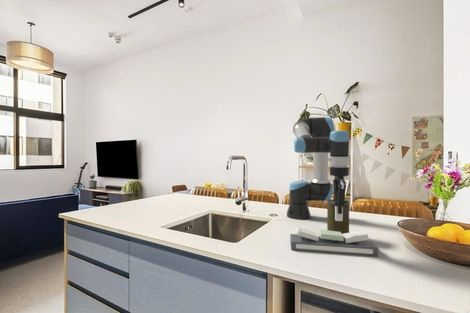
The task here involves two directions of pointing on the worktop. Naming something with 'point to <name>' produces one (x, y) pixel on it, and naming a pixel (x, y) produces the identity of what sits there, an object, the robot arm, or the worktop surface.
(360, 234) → the block
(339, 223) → the canister
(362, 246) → the rocker switch panel
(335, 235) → the rocker mid
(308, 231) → the block
